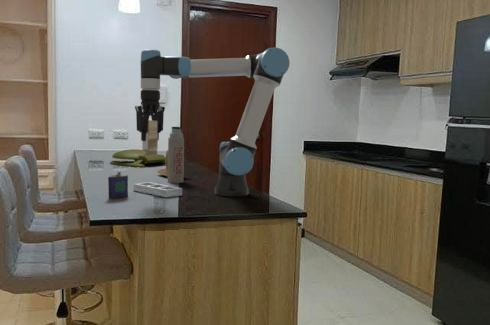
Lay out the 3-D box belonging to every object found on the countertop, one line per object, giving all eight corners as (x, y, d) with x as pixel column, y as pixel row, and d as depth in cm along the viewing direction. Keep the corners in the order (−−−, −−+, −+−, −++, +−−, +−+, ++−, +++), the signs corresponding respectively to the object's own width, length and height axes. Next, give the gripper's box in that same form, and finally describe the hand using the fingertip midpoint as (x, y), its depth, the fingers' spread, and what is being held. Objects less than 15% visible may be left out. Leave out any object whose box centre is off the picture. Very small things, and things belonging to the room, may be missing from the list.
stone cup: (186, 178, 252) (187, 150, 250) (165, 178, 246) (166, 150, 244) (176, 174, 265) (176, 148, 263) (156, 175, 259) (156, 148, 258)
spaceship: (173, 165, 314) (173, 150, 313) (140, 168, 288) (140, 153, 287) (136, 160, 332) (136, 147, 331) (102, 163, 306) (102, 149, 305)
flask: (125, 195, 194) (125, 170, 192) (129, 196, 192) (130, 171, 191) (106, 198, 186) (107, 172, 185) (111, 199, 184) (111, 172, 183)
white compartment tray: (182, 195, 199) (182, 188, 199) (165, 197, 192) (166, 190, 192) (149, 188, 213) (149, 182, 213) (133, 190, 206) (133, 183, 206)
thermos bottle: (184, 182, 234) (185, 127, 231) (168, 182, 232) (169, 126, 229) (182, 180, 242) (183, 126, 239) (166, 180, 240) (167, 126, 237)
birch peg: (157, 155, 186) (157, 120, 185) (149, 156, 183) (149, 120, 182) (150, 154, 189) (150, 120, 187) (142, 155, 186) (142, 120, 184)
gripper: (160, 91, 192) (160, 147, 195) (126, 88, 179) (126, 149, 182) (173, 91, 188) (172, 148, 190) (138, 88, 174) (138, 150, 177)
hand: (150, 148), depth 186 cm, fingers closed on birch peg, 4 cm apart
